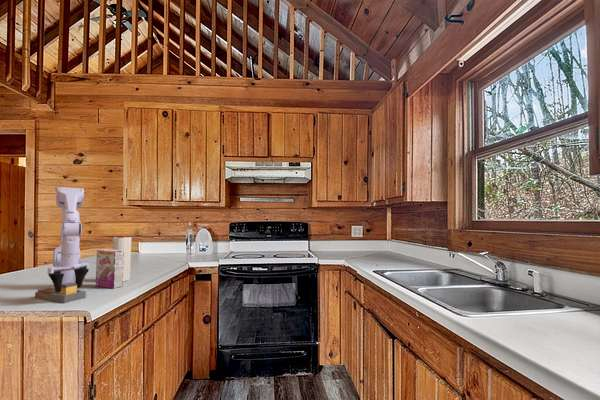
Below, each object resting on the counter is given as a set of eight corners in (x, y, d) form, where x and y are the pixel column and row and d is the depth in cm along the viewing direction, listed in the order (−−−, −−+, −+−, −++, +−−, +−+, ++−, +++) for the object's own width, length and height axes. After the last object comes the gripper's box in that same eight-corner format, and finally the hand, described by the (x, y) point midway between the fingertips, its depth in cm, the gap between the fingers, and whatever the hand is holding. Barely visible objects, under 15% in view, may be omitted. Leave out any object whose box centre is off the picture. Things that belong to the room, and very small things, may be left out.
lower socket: (71, 295, 129) (71, 289, 129) (85, 297, 127) (85, 291, 127) (49, 300, 122) (50, 293, 122) (64, 303, 119) (64, 295, 119)
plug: (69, 295, 127) (69, 282, 127) (76, 296, 125) (76, 283, 126) (58, 297, 123) (59, 284, 123) (65, 298, 122) (66, 285, 122)
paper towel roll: (109, 283, 153) (111, 237, 154) (113, 280, 159) (115, 236, 159) (126, 282, 154) (128, 237, 155) (129, 279, 160) (131, 236, 161)
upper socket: (59, 292, 134) (59, 285, 134) (74, 294, 131) (74, 287, 131) (34, 297, 126) (35, 290, 126) (50, 300, 123) (50, 292, 123)
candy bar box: (94, 286, 145) (96, 249, 146) (104, 284, 150) (106, 248, 150) (113, 289, 141) (115, 251, 142) (123, 286, 146) (124, 250, 147)
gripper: (57, 256, 117) (55, 294, 116) (95, 252, 130) (93, 286, 130) (44, 255, 119) (42, 292, 119) (82, 251, 133) (81, 284, 132)
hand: (68, 289), depth 124 cm, fingers open, 7 cm apart
